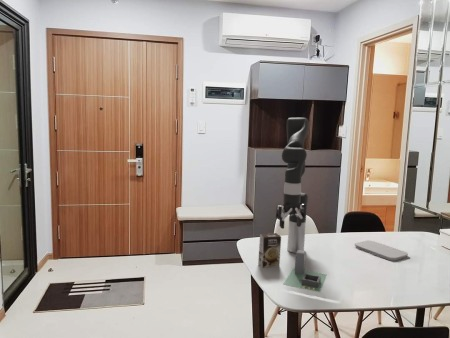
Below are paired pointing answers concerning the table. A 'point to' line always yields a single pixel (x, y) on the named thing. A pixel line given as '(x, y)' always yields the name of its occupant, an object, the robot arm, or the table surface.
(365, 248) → the tablet
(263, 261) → the coffee box
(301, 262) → the plug
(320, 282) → the board
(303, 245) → the robot arm
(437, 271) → the table surface
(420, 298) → the table surface
